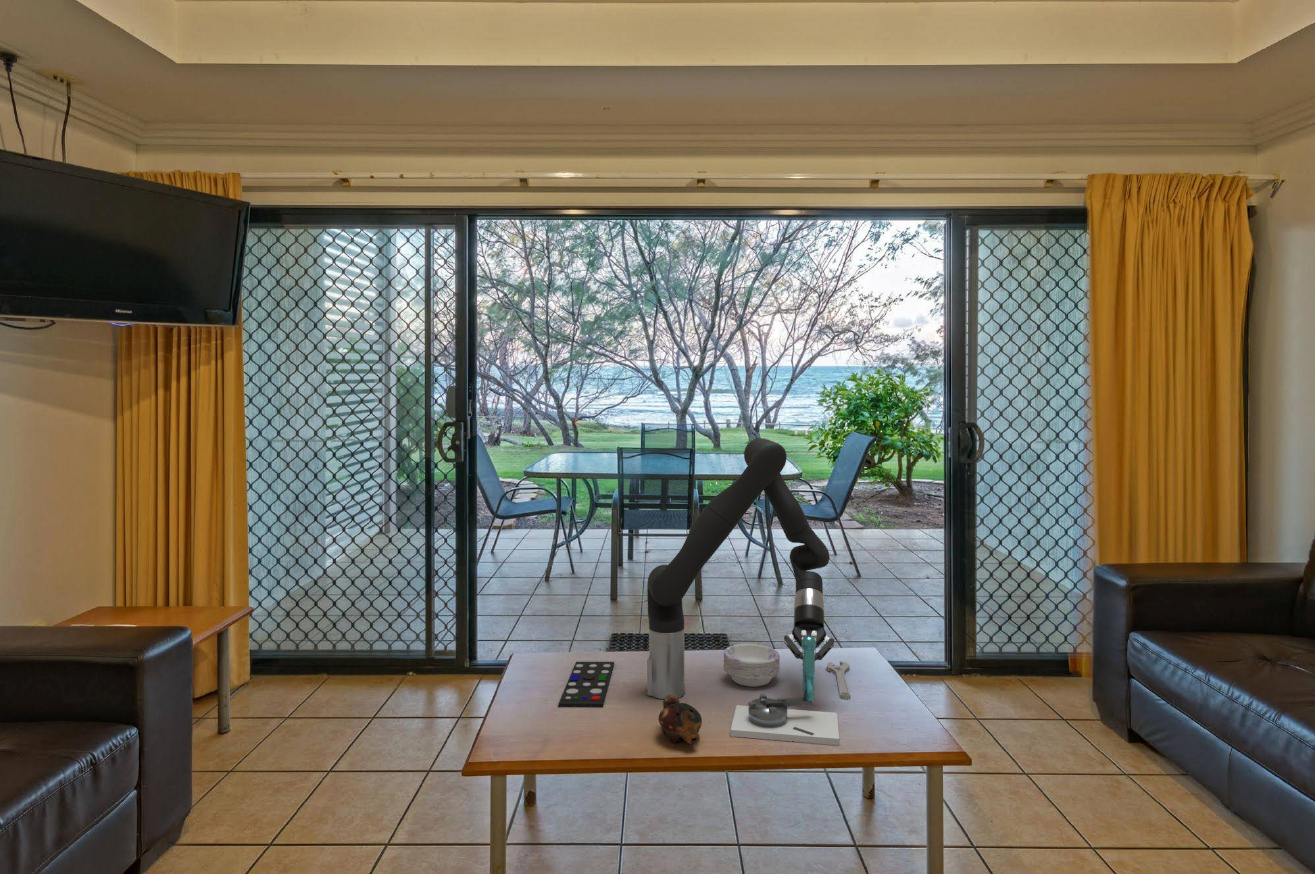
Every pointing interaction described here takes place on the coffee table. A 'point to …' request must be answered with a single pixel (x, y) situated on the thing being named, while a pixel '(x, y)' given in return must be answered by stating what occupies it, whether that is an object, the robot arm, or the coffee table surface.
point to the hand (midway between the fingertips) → (808, 674)
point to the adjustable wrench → (840, 678)
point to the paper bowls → (751, 664)
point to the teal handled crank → (776, 709)
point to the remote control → (587, 685)
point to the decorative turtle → (679, 720)
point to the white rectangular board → (790, 727)
